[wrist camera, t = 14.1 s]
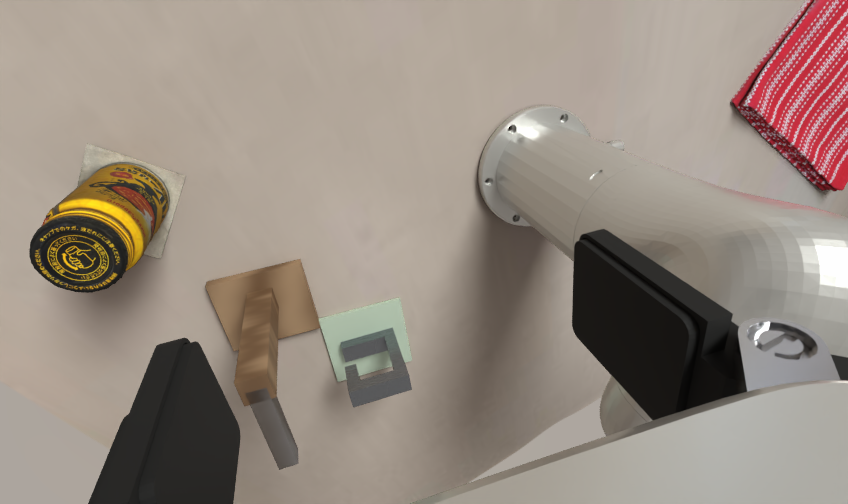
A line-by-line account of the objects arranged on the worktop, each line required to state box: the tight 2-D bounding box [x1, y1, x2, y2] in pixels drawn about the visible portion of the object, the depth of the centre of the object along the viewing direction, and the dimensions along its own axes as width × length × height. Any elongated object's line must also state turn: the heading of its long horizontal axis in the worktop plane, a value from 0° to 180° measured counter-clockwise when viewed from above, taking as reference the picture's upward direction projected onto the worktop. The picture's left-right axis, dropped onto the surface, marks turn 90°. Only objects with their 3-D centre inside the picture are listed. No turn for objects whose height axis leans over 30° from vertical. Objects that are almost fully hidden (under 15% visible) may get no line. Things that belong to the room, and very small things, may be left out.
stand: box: [206, 259, 320, 470], centre depth 42 cm, size 9×12×14 cm
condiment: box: [30, 143, 186, 293], centre depth 34 cm, size 7×8×12 cm
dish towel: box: [731, 0, 848, 191], centre depth 53 cm, size 17×24×3 cm
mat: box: [319, 298, 412, 382], centre depth 52 cm, size 9×9×1 cm
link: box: [341, 327, 412, 407], centre depth 49 cm, size 6×2×8 cm, turn 99°
